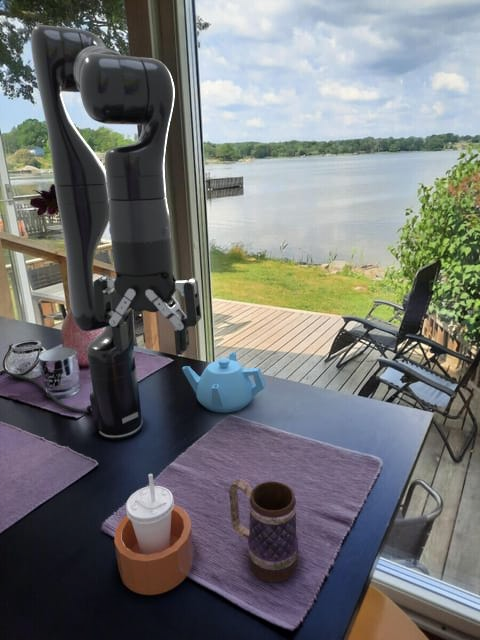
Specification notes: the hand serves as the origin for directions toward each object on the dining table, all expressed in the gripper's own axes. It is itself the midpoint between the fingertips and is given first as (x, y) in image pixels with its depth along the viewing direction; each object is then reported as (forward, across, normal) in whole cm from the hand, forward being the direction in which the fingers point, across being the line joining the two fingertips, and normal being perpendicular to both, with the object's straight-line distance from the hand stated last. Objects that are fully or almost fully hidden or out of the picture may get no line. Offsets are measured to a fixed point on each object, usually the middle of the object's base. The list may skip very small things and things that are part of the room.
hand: (151, 350), depth 62 cm
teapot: (+30, -1, -38) cm, 48 cm away
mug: (+29, -17, +6) cm, 34 cm away
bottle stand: (+29, -2, +9) cm, 30 cm away
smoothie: (+28, -2, +9) cm, 30 cm away
